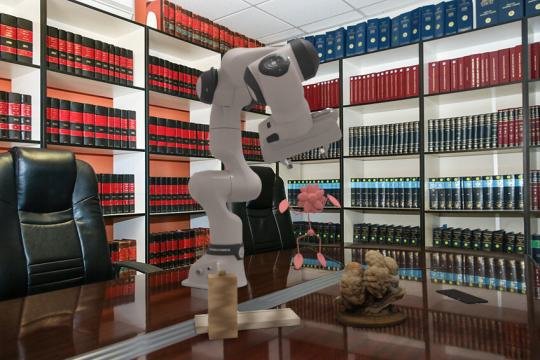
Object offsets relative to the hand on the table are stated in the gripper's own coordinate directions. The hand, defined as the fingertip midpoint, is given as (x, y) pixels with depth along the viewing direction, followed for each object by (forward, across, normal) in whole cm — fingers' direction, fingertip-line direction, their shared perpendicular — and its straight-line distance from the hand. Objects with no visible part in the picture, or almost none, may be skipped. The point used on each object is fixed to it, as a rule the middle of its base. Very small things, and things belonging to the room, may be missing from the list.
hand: (307, 161), depth 106 cm
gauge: (+11, +31, +32) cm, 46 cm away
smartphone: (+50, -30, +23) cm, 63 cm away
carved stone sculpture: (+26, -2, +33) cm, 42 cm away
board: (+16, +26, +30) cm, 43 cm away
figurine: (+70, +12, -14) cm, 73 cm away
